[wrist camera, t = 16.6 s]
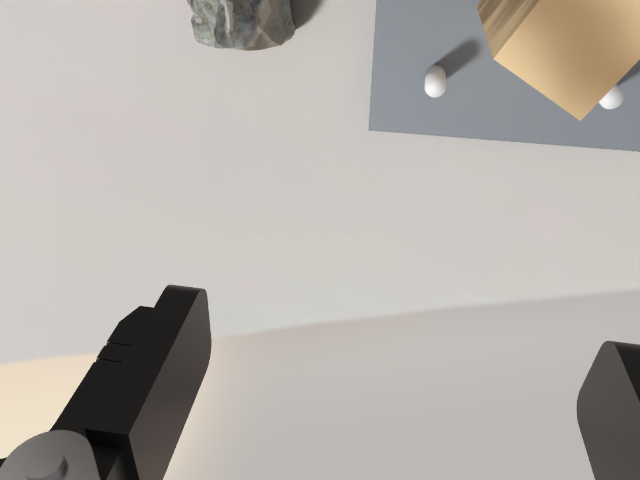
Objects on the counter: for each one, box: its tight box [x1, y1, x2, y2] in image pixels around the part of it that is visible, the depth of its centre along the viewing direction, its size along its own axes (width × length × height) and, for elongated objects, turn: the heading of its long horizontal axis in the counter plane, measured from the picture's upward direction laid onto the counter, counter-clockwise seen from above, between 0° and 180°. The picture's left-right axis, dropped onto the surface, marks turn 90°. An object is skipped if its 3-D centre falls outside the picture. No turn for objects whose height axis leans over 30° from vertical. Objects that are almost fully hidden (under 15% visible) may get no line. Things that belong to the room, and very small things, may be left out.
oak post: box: [476, 0, 640, 121], centre depth 29 cm, size 5×5×14 cm
